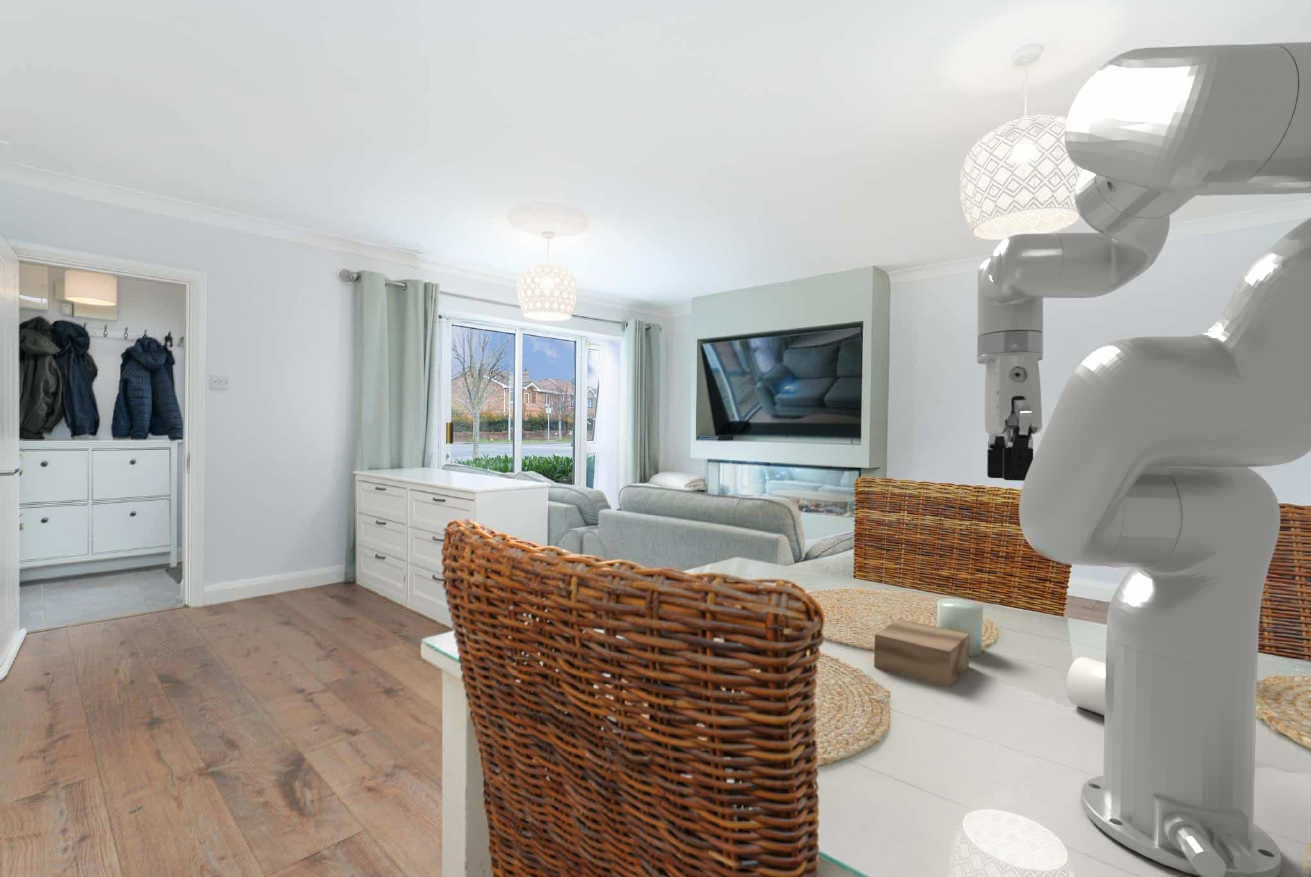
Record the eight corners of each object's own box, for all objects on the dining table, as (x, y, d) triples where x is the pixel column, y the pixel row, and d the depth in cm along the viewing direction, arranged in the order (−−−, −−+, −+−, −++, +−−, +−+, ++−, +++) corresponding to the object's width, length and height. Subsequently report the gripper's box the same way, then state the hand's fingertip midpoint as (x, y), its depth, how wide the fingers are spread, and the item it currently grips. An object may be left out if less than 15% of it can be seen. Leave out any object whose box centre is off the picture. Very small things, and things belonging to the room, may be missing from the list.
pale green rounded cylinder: (984, 658, 91) (985, 612, 91) (937, 652, 93) (938, 607, 93) (978, 644, 97) (979, 601, 97) (935, 639, 99) (936, 596, 99)
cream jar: (1060, 680, 73) (1147, 710, 65) (1084, 645, 76) (1171, 670, 68) (1076, 716, 75) (1163, 750, 67) (1099, 682, 77) (1186, 710, 69)
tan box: (948, 689, 80) (949, 651, 80) (874, 668, 87) (874, 634, 87) (968, 668, 88) (969, 633, 88) (898, 650, 94) (899, 619, 94)
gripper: (1063, 336, 70) (1062, 482, 70) (1024, 359, 87) (1024, 478, 86) (990, 338, 73) (989, 480, 72) (966, 361, 89) (966, 476, 89)
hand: (1008, 479), depth 79 cm, fingers open, 9 cm apart
